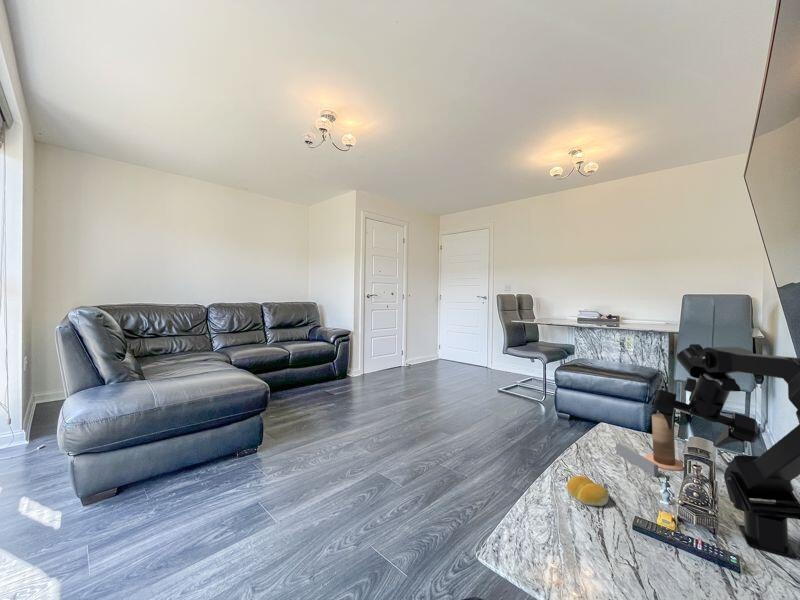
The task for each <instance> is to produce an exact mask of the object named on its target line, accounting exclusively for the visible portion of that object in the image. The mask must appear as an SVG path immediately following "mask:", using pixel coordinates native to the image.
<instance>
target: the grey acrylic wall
mask: <svg viewBox="0 0 800 600" xmlns="http://www.w3.org/2000/svg"><path fill="white" fill-rule="evenodd" d="M615 448H616V449H615V451H616V455H618V456H619V457H622V458H623V459H625V460H626V461H628V462H629V463H631V464H633V465H634V466H636V467H638V468H639V469H641V470H643V471H644V472H646V473H648V474H649V475H651V476H653V477H654V478H655V477H657V478H658V477H659V467H658V465H657V464H655V463H653V462H651V461H650V460H648V459H646V458H645V456H643V455H641V454H640V453H637V452H636V451H633V450H632V449H630V448H628V447H626V446H625V445H623V444H621V443H616V444H615Z"/></svg>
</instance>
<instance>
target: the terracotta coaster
mask: <svg viewBox="0 0 800 600" xmlns="http://www.w3.org/2000/svg"><path fill="white" fill-rule="evenodd" d="M644 458H646V459H648V460H650V461H651V462H653V463H655V464H657V465H658V469H663V470H666V471H667V470H668V471H676V472H677V471H682V470H684V469H683V464H684V462H682V461H681V460H679V459H676V458H675V465H673V466H668V465H663V464H659V463H657V462H655V461H654V459H653V453H652V454H647V455H646V456H644Z"/></svg>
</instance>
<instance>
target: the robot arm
mask: <svg viewBox="0 0 800 600" xmlns="http://www.w3.org/2000/svg"><path fill="white" fill-rule="evenodd" d="M676 360H677V361H678V362H679V364H680V365H681V366H682V367H683V369H684V370H685V371H686V372H687V373H688V375H689V376H690V377H687V378H686V380H685V383H684V386H683V390H684V391H686V392H689V393H690V395H689V399H688V401H689V402H688V403H685V402H682V401H679V400H677V396H678V394H676V393H674V392H670V391H667V390H663V389H659V390H657V391H656V395H655V399H654V401H653V406H652V408H653V410H656V411H658V414H662V415H663V416H664V417H665V419H666V421H667V424H668V428H669V429H670V430H671V429H672V425H673V419H674V415H675V410H676V411H679V412H681V413H682V412H683V413H685V414H688V415H691V416H694V417H698V418H700V419H704V420H707V421H710V422H712V423H719V424H722V425H725V428H723V430H722V432H721V433H720V435H719V436H718V438H717V439H716V442H715V448H720V447H722V446H724V445H727V444H731V443H736V442H741V443H745V442H747V443H751V444H752V443H755V442H756V440H757V439H758V434H759V432H758V429H759V428H758V421H757V420H756V419H755V418H753V417H749V416H747V415H743V414H739V413H737V412H733V414H732V416H728V415H726V414H722V411H723V408H724V406H725V405H726V402H727V399H728V397H729V395H730V392H741V391H742V389H741V387H740V385H739V384H738V383H737V381H736V379H735V378H733V377H732V376H731V375H730V374H753V375H758V376H766V377H771V378H777V379H783V380H784V382H785V383H786V384H787V395H788V397H787V399H788V400H789V401H790V403H791V404H792V405H793V406H794V407H795V408H796V412H795V414H796V418H797V420H798V421H797V422H798V423H799V424H798V425H796V426H795V427H794V428H793V429H792V430H790V431H789V432H787V433H786V434H785V435H784V436H783V437H782V438H781V439H780V440H778V441H777V442H775V444H773V445H772V446H770V447H769V448H768V449H767V450H766V451H764V452H763V453H762V454H760V456H759V455H745V454H744V455H743V454H737V455H735V456H734V457H733V459H732V460H731V461H730V462H726V464H727V465H728V466H727V467H726V468H725V471H724V474H723V475H724V476H723V478H724V479H723V480H724V483H725V486H726V490H727V493H728V497H729V501H730V502H731V503H732V504H733V508H735V509H736V510H738V511H739V510H740V511H741V512H743V521H744V522H743V523H744V525H741V524H739V525H738V529H739V531H740V533H741V536H742V537H743V539H744V541H745V543H746V544H747V545H748V546H749V547H752V548H756V549H759V550H763V551H766V552H769V553H770V552H771V553H773V554H777V555H781V556H784V557H788V556H789V558H792V557H793V558H792V559H798V554H797V552H795V550H794V548H793V546H791V544H790V543H789V532H788V531H789V529H788V519H792V520H793V519H794V520H798V521H800V501H799V500H798V498H797V496H796V495H795V493H794V489H795V488H794V486H793V484H792V480H794V479H796V478H797V477H798V476H800V357H793V356H792V357H791V356H784V355H783V356H782V355H781V356H779V355H770V354H768V355H767V354H758V353H753V351H752V350H749V349H746V348H744V347H740V346H737V347H735V346H734V347H733V346H725V347H724V346H719V347H718V346H713V347H712V346H707V347H703V346H701V344H700V343H699V344H698V343H697V344H695V343H694V344H693V343H691V344H689V346H688V347H686V348H684V349H682V350H681V351H680V352H678V353H677V354H676ZM691 377H692V378H691ZM753 499H754V500H753ZM764 500H765V501H764ZM766 500H767V501H766Z"/></svg>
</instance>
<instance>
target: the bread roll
mask: <svg viewBox="0 0 800 600" xmlns="http://www.w3.org/2000/svg"><path fill="white" fill-rule="evenodd" d="M566 489H567V492H568V494H569V495H570V496H572V497H573V498H574V499H576V500H578V501H579V502H581V503H582V504H584V505H586V506H591V507H592V506H593V507H594V506H595V507H603V506H606V505H607V504H608V502H609V497H610V496H609V493H608V491H607V489H606V488H605V487H604V486H603V485H601V484H599V483H596V482H594V481H593V480H591V479H590V478H588V477H586V476H585V475H584V476H583V475H578V476H577V475H576V476H574V477H572V478H571V479H569V480H568V481H567V482H566Z"/></svg>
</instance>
